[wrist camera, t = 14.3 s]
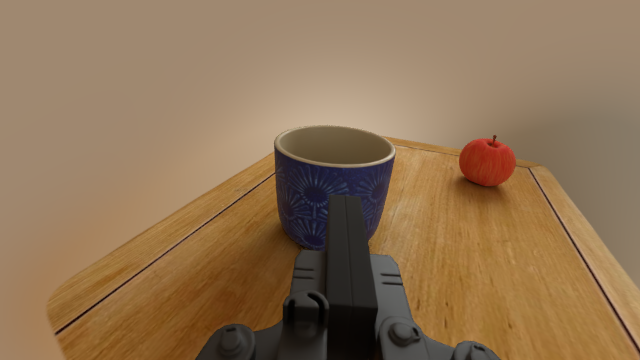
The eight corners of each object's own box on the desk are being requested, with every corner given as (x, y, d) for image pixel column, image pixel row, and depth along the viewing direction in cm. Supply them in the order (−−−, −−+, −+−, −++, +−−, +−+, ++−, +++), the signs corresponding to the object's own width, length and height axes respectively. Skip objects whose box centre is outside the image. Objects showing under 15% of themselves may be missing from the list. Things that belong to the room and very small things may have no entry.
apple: (448, 169, 55) (460, 126, 52) (494, 173, 55) (509, 130, 51) (463, 190, 48) (478, 141, 44) (516, 194, 48) (535, 146, 44)
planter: (335, 195, 44) (341, 120, 39) (402, 239, 35) (422, 151, 31) (256, 220, 37) (252, 133, 32) (316, 283, 28) (323, 177, 24)
